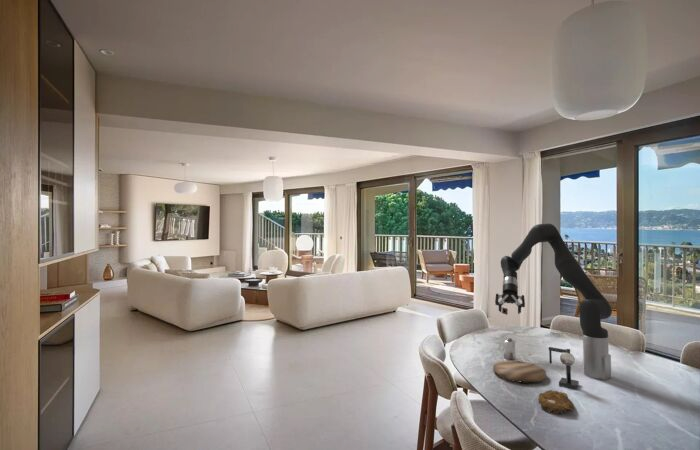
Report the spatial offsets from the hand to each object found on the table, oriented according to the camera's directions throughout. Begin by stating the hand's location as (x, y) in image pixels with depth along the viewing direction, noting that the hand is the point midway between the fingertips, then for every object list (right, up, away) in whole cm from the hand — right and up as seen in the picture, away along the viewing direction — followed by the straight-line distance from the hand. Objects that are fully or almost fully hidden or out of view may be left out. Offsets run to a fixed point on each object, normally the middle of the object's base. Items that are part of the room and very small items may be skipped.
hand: (509, 312), depth 189 cm
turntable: (-8, -20, -28) cm, 35 cm away
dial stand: (+6, -21, -38) cm, 43 cm away
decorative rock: (-8, -21, -56) cm, 61 cm away
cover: (-5, -21, -11) cm, 24 cm away
